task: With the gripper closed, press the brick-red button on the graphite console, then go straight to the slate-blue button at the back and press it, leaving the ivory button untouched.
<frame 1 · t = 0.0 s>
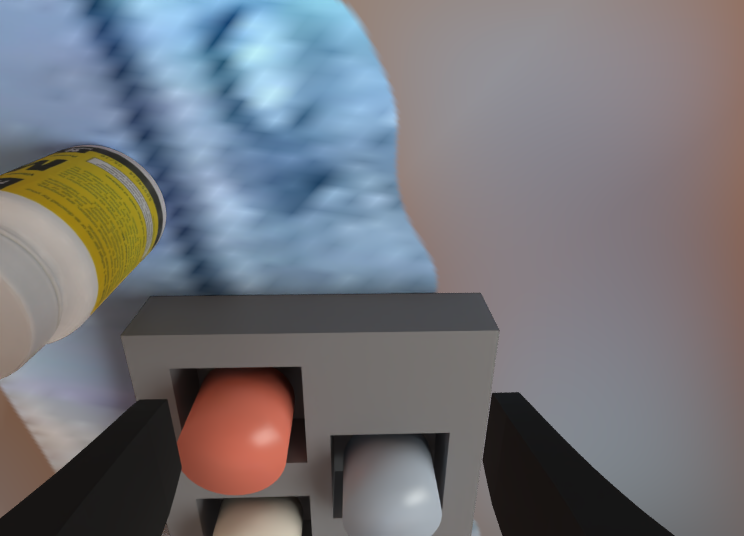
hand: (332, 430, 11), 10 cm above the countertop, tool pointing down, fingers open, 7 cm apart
supplement bottle: (107, 203, 19), on the countertop
console: (323, 429, 24), on the countertop
button red: (240, 425, 20), point 3 cm above the countertop, slide at 0.0 cm
button slate: (389, 484, 21), point 3 cm above the countertop, slide at 0.0 cm
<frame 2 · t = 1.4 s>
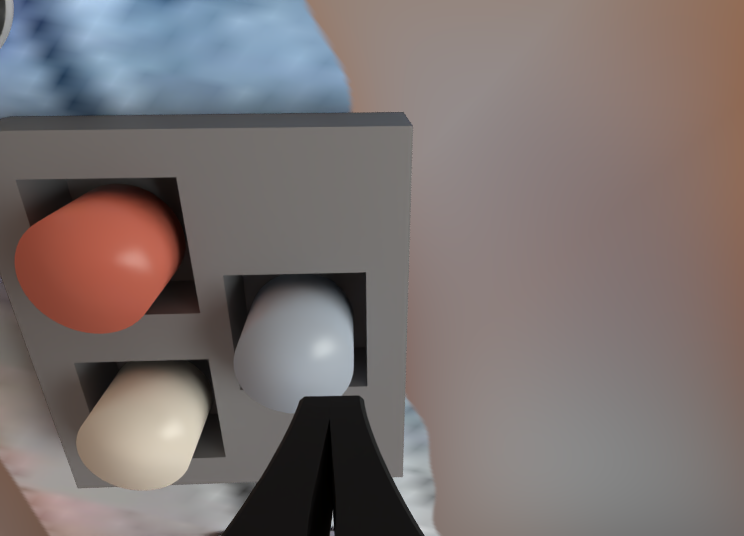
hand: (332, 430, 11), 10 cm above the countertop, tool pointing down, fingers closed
button ivory: (150, 419, 19), point 3 cm above the countertop, slide at 0.0 cm
console: (235, 297, 21), on the countertop
button red: (108, 255, 16), point 3 cm above the countertop, slide at 0.0 cm
button slate: (298, 340, 18), point 3 cm above the countertop, slide at 0.0 cm
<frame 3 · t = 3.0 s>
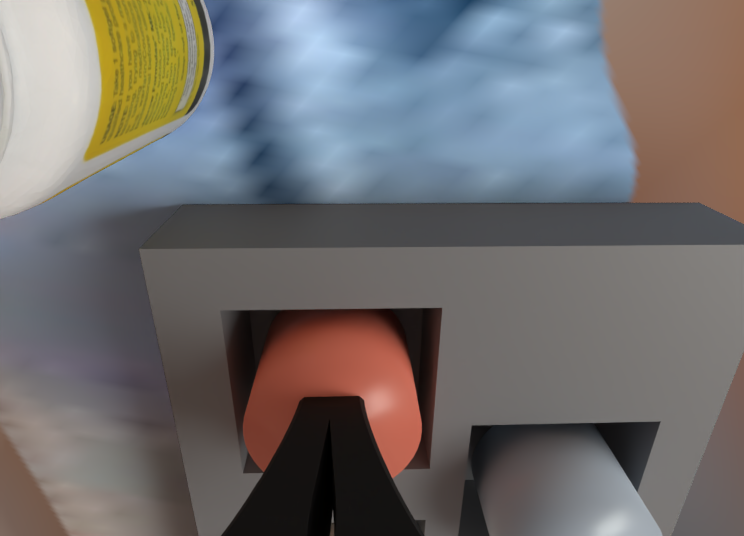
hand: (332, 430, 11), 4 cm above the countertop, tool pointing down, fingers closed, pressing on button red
supplement bottle: (115, 37, 12), on the countertop
console: (429, 419, 17), on the countertop
button red: (335, 387, 13), point 3 cm above the countertop, slide at 0.8 cm, touching gripper
button slate: (556, 504, 14), point 3 cm above the countertop, slide at 0.0 cm
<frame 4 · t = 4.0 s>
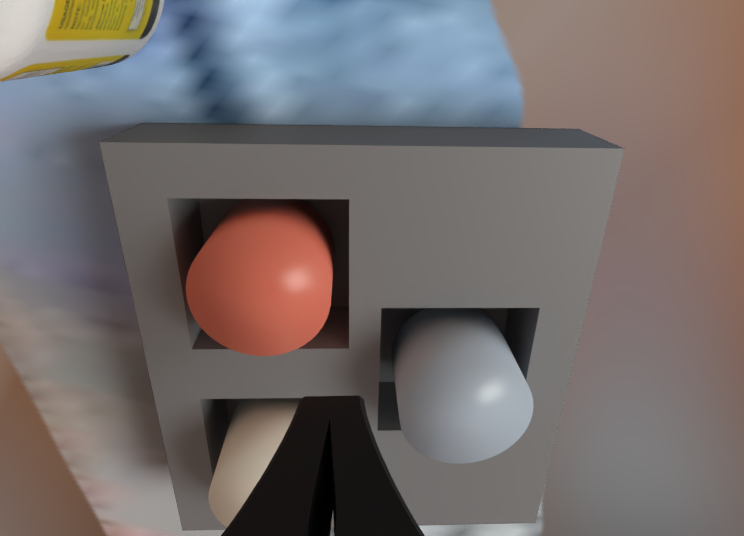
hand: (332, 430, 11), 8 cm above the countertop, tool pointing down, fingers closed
button ivory: (278, 461, 17), point 3 cm above the countertop, slide at 0.0 cm
console: (362, 325, 19), on the countertop
button red: (267, 271, 15), point 2 cm above the countertop, slide at 0.9 cm
button slate: (456, 380, 16), point 3 cm above the countertop, slide at 0.0 cm
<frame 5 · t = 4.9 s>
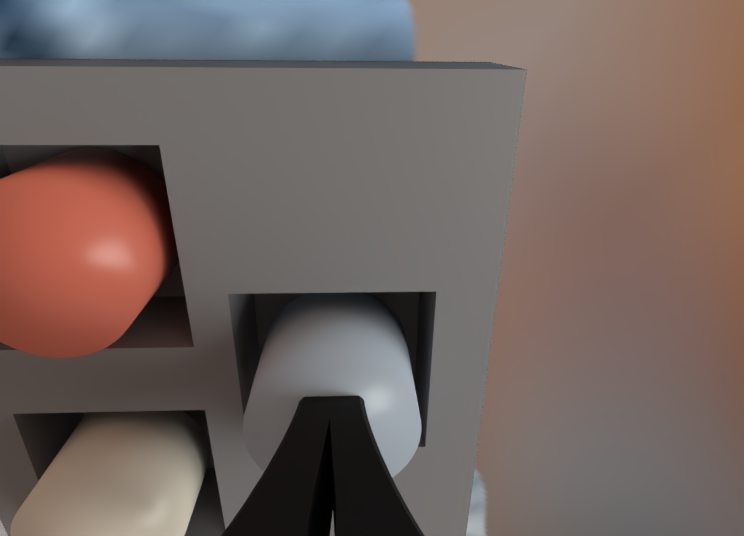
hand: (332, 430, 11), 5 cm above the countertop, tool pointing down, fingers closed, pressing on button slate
button ivory: (122, 491, 14), point 3 cm above the countertop, slide at 0.0 cm
console: (242, 319, 16), on the countertop
button red: (77, 247, 12), point 2 cm above the countertop, slide at 0.9 cm
button slate: (334, 387, 13), point 3 cm above the countertop, slide at 0.0 cm, touching gripper
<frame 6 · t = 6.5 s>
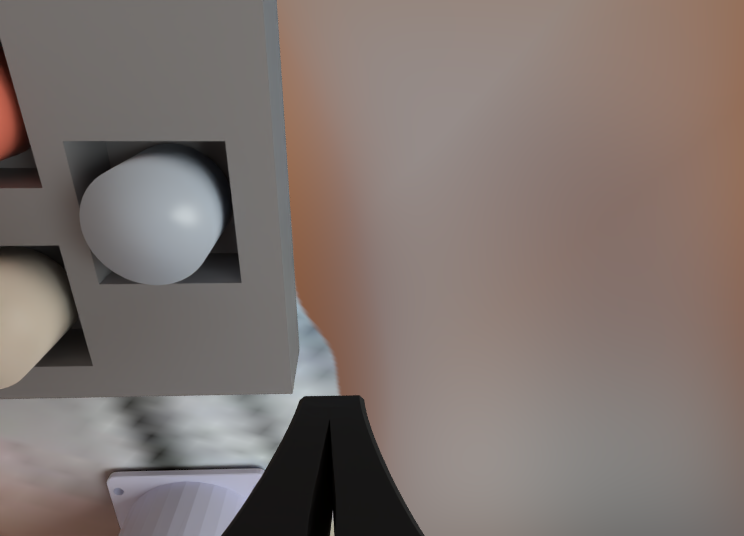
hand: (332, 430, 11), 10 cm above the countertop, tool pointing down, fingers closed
console: (106, 191, 19), on the countertop
button slate: (163, 212, 17), point 2 cm above the countertop, slide at 0.9 cm
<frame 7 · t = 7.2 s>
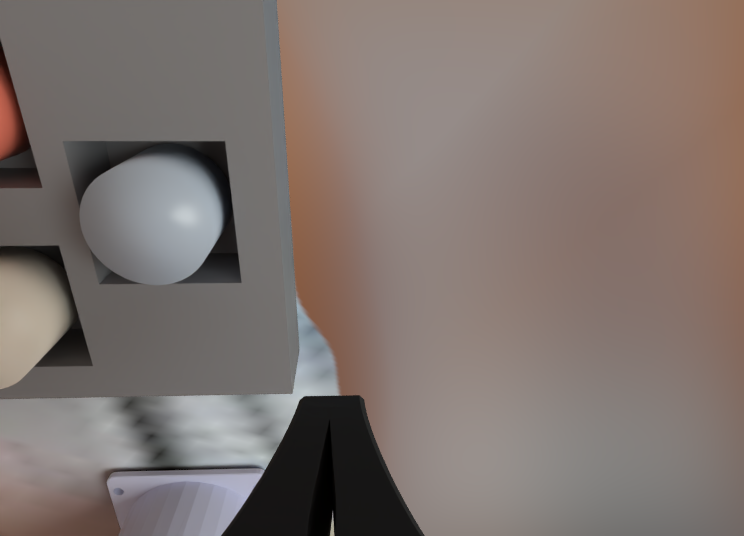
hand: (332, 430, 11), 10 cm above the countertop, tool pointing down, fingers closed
console: (106, 191, 19), on the countertop
button slate: (163, 211, 17), point 2 cm above the countertop, slide at 0.9 cm
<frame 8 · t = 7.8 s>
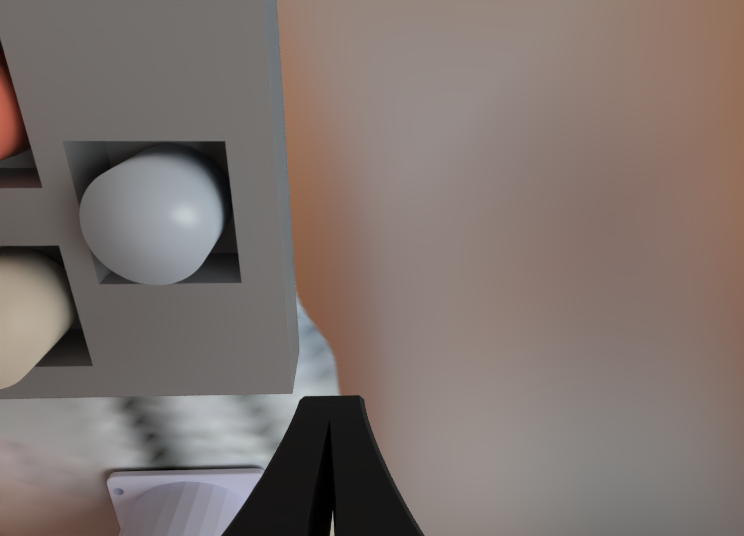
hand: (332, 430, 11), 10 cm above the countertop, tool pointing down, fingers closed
console: (106, 191, 19), on the countertop
button slate: (163, 211, 17), point 2 cm above the countertop, slide at 0.9 cm
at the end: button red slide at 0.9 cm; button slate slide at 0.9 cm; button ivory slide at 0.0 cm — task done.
